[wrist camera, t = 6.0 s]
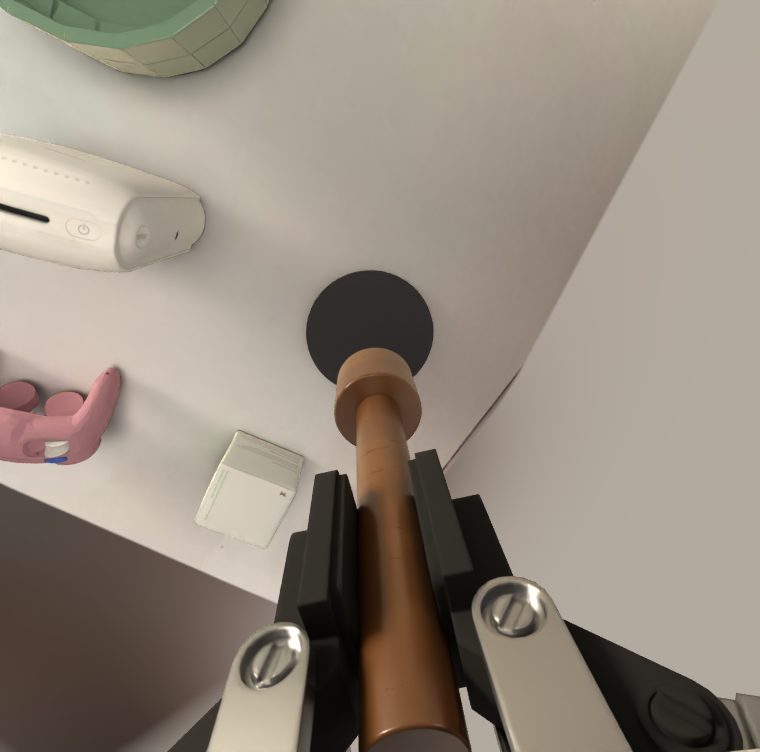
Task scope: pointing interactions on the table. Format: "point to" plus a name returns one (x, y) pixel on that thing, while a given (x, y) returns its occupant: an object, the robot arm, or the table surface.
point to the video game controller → (55, 422)
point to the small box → (250, 490)
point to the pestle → (394, 570)
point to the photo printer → (90, 209)
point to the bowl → (144, 30)
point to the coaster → (368, 321)
